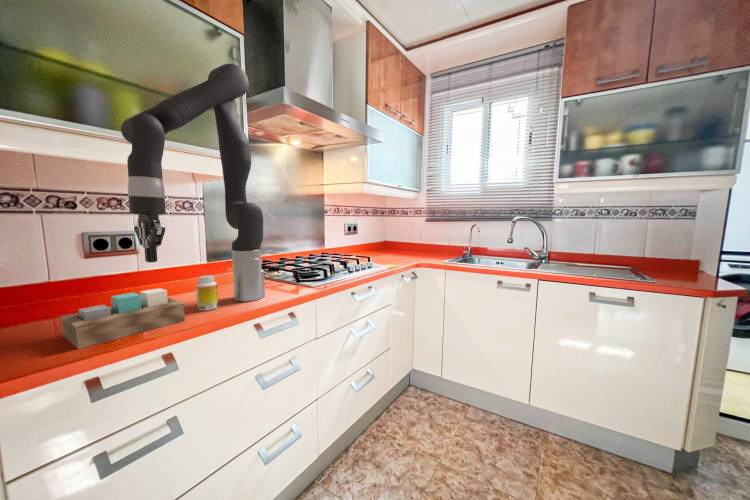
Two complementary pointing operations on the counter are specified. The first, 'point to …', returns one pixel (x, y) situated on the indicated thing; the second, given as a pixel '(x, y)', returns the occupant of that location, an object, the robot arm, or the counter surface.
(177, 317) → the frame
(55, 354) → the counter surface
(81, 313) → the grey key
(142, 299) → the ivory key
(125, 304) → the teal key
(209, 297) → the supplement bottle
